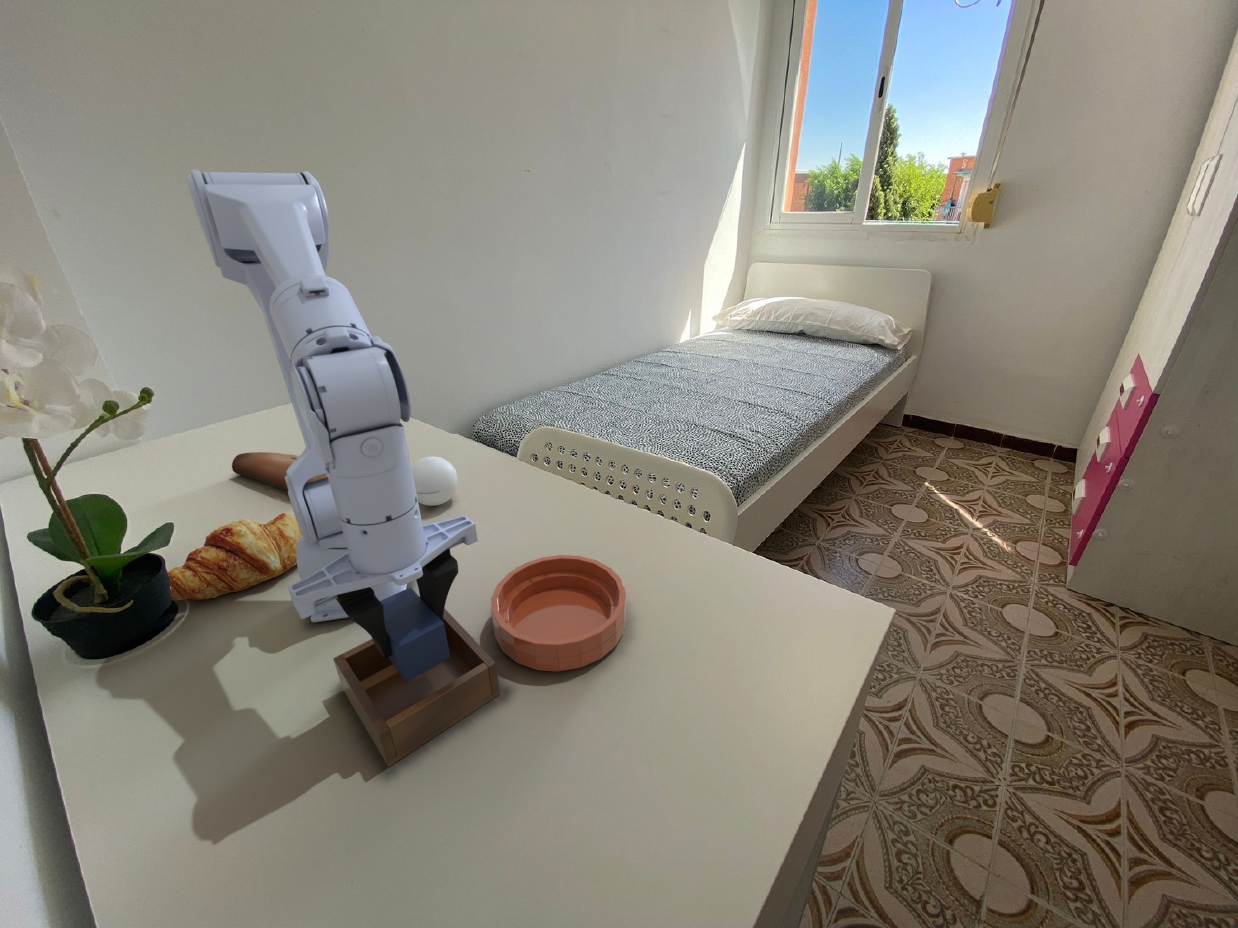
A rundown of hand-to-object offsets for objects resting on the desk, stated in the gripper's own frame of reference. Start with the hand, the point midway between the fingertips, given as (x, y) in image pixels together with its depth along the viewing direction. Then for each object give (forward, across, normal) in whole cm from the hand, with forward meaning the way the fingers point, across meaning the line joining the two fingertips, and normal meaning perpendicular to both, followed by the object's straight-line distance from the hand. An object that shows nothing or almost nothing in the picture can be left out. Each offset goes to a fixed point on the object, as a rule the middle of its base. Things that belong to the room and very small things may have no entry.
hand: (409, 637), depth 48 cm
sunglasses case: (+7, +3, +54) cm, 55 cm away
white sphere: (+7, +16, +31) cm, 36 cm away
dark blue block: (+1, 0, 0) cm, 1 cm away
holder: (+7, 0, 0) cm, 7 cm away
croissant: (+7, -6, +31) cm, 33 cm away
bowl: (+7, +15, -2) cm, 17 cm away
